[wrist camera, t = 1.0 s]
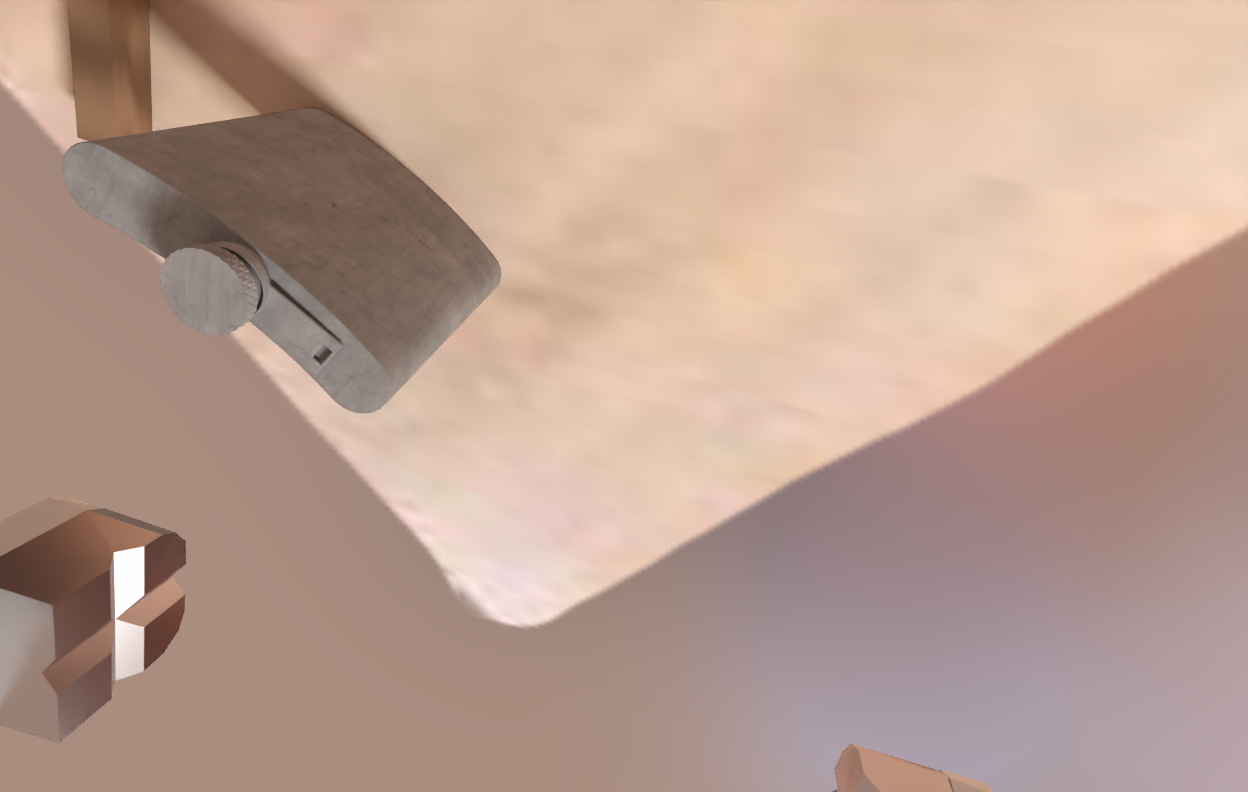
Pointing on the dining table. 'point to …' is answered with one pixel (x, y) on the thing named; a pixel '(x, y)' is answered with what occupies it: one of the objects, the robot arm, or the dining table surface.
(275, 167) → the hip flask
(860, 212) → the dining table surface
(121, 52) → the spatula
